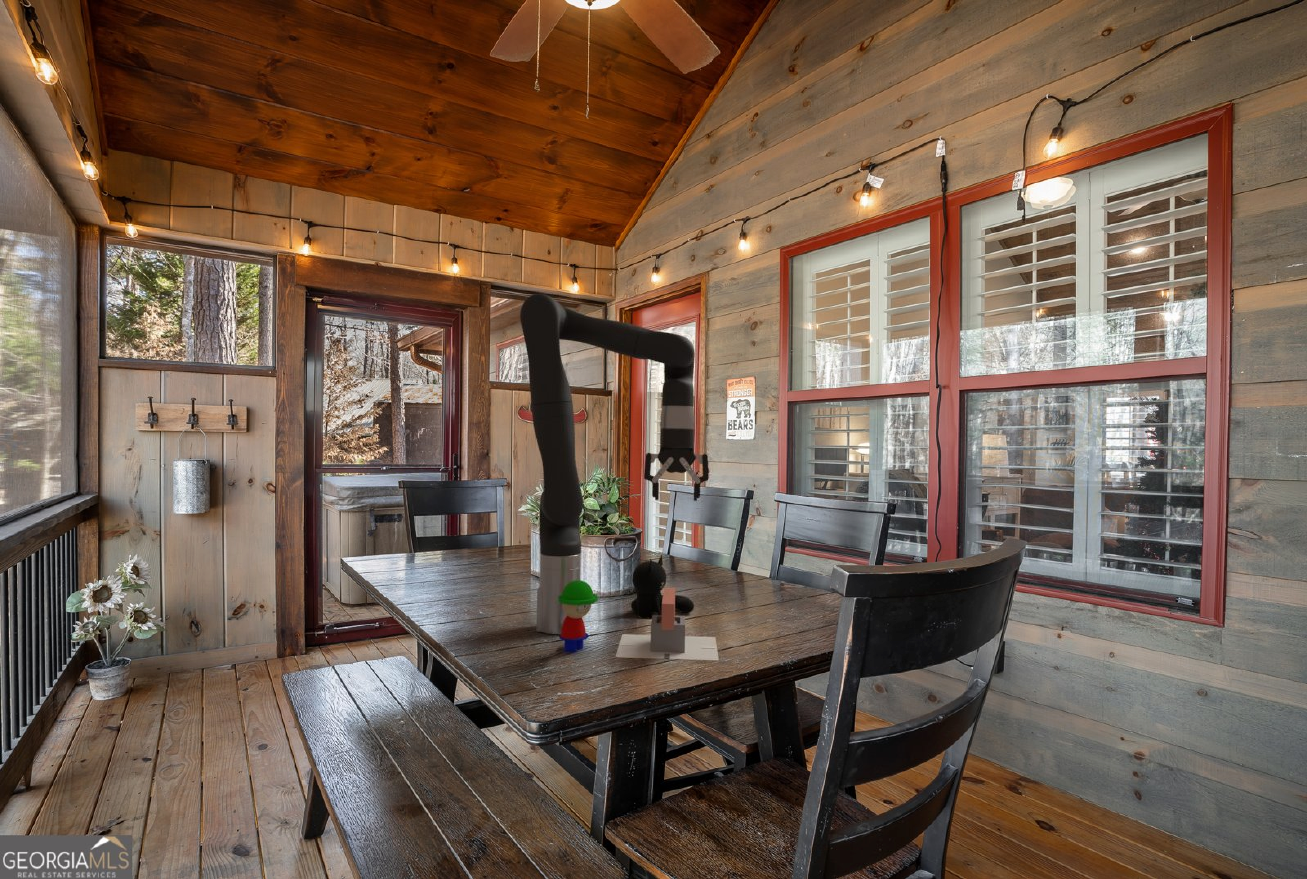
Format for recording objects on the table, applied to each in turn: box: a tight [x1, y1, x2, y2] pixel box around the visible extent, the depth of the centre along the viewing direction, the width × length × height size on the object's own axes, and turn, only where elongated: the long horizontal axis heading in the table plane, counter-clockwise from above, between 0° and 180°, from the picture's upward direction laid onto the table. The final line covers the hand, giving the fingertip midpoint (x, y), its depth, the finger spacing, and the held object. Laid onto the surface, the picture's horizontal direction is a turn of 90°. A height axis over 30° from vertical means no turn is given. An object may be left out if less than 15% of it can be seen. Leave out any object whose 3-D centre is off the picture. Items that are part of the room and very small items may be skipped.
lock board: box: [614, 620, 720, 662], centre depth 134 cm, size 20×15×6 cm
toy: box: [558, 580, 599, 654], centre depth 131 cm, size 8×8×15 cm
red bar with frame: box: [650, 587, 686, 653], centre depth 134 cm, size 14×7×10 cm, turn 177°
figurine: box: [630, 554, 695, 619], centre depth 165 cm, size 16×14×15 cm
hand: (675, 500), depth 146 cm, fingers open, 8 cm apart
